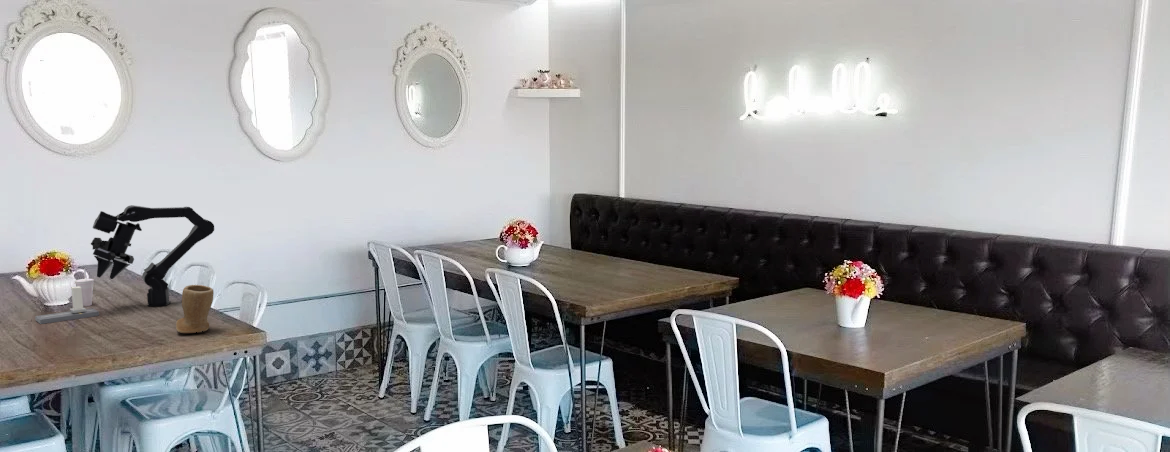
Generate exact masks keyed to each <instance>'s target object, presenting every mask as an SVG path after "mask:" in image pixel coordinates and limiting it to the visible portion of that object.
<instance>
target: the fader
mask: <svg viewBox="0 0 1170 452" xmlns="http://www.w3.org/2000/svg"><path fill="white" fill-rule="evenodd" d="M70 290H71V302H72V308H71V307H70V308H69V311H71V312H73V313H78V312H85V311H86V309H87V308H86V307H85V306H83V302H82V290H81V287H79V286H78V287H76V286H72V287H71V289H70Z"/></svg>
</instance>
